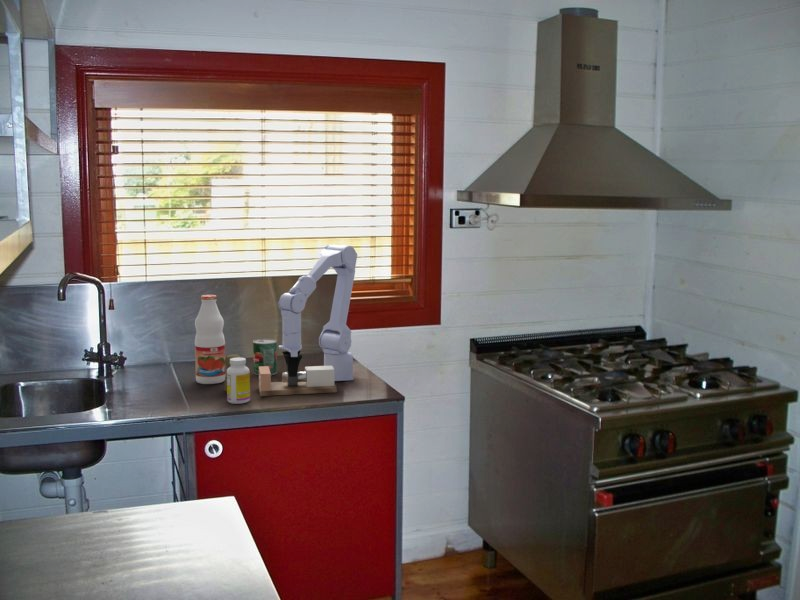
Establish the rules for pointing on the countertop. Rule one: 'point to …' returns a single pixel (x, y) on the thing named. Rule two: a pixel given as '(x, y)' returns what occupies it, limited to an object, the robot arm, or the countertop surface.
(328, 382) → the sleeve
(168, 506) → the countertop surface
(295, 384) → the tube
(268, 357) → the canned tomato
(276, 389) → the tan board
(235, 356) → the olive tan rounded piece
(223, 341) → the fruit juice
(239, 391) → the supplement bottle
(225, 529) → the countertop surface
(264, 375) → the socket block
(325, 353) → the robot arm
